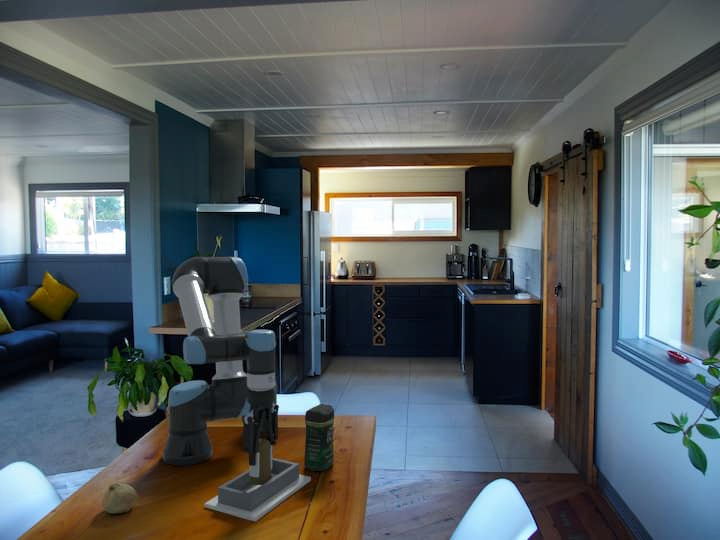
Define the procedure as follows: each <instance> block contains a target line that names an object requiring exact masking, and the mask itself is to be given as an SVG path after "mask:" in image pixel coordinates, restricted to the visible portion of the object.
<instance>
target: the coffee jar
mask: <svg viewBox="0 0 720 540" xmlns="http://www.w3.org/2000/svg"><path fill="white" fill-rule="evenodd" d="M334 423H335V409H334V407H333V406H332V405H330V404H325V403H320V404H317V405H315V406H313V407H311V408H309V409H308V410H306V411H305V416H304V424H305V442H304V443H305V444H304V446H305V447H304V458H303V460H304V461H303V462H304V463H303V466H304V468H305V469H307V470H309V471H312V472H318V471H319V472H323V471H326V470H327V469H329V468H330V467H331V466H332V465H333V464H334V460H335V459H334V425H335V424H334Z"/></svg>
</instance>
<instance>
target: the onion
mask: <svg viewBox="0 0 720 540" xmlns="http://www.w3.org/2000/svg"><path fill="white" fill-rule="evenodd" d="M137 498H138V493H137V491H136V490H135V488H134V487H133V486H131V485H129V484H127V483H118V482H114V483H113V484H110V485H109V486H108V488H107V489H106V491H105V492H104V493H103V497H102V500H101V506H102V509H103V510H104V511H105V512H106V513H108V514H113V515H114V514H115V515H116V514H124V513H128V512H129V511H130V510H131V508H133V507H134V505H135V504H136V501H137Z"/></svg>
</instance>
